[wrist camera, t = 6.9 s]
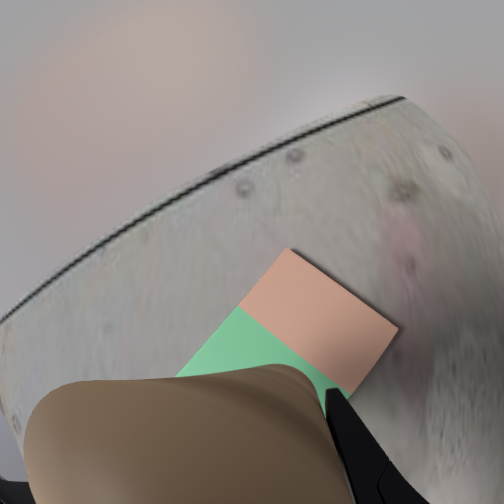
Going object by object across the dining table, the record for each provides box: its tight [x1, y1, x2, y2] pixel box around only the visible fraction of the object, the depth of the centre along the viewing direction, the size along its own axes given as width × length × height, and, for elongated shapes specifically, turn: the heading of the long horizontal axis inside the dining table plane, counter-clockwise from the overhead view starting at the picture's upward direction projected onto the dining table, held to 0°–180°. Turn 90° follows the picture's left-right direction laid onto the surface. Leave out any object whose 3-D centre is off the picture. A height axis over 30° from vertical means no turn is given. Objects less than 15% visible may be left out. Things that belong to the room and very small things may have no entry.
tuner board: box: [175, 247, 398, 418], centre depth 20 cm, size 22×12×1 cm, turn 139°
